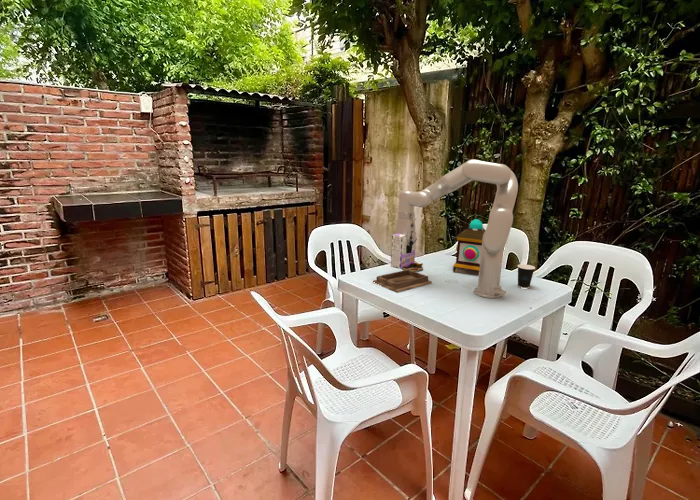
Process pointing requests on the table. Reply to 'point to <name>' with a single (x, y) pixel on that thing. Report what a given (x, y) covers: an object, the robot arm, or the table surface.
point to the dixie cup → (525, 275)
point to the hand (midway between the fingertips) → (403, 251)
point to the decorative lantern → (469, 247)
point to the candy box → (401, 252)
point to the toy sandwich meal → (414, 267)
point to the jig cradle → (402, 280)
